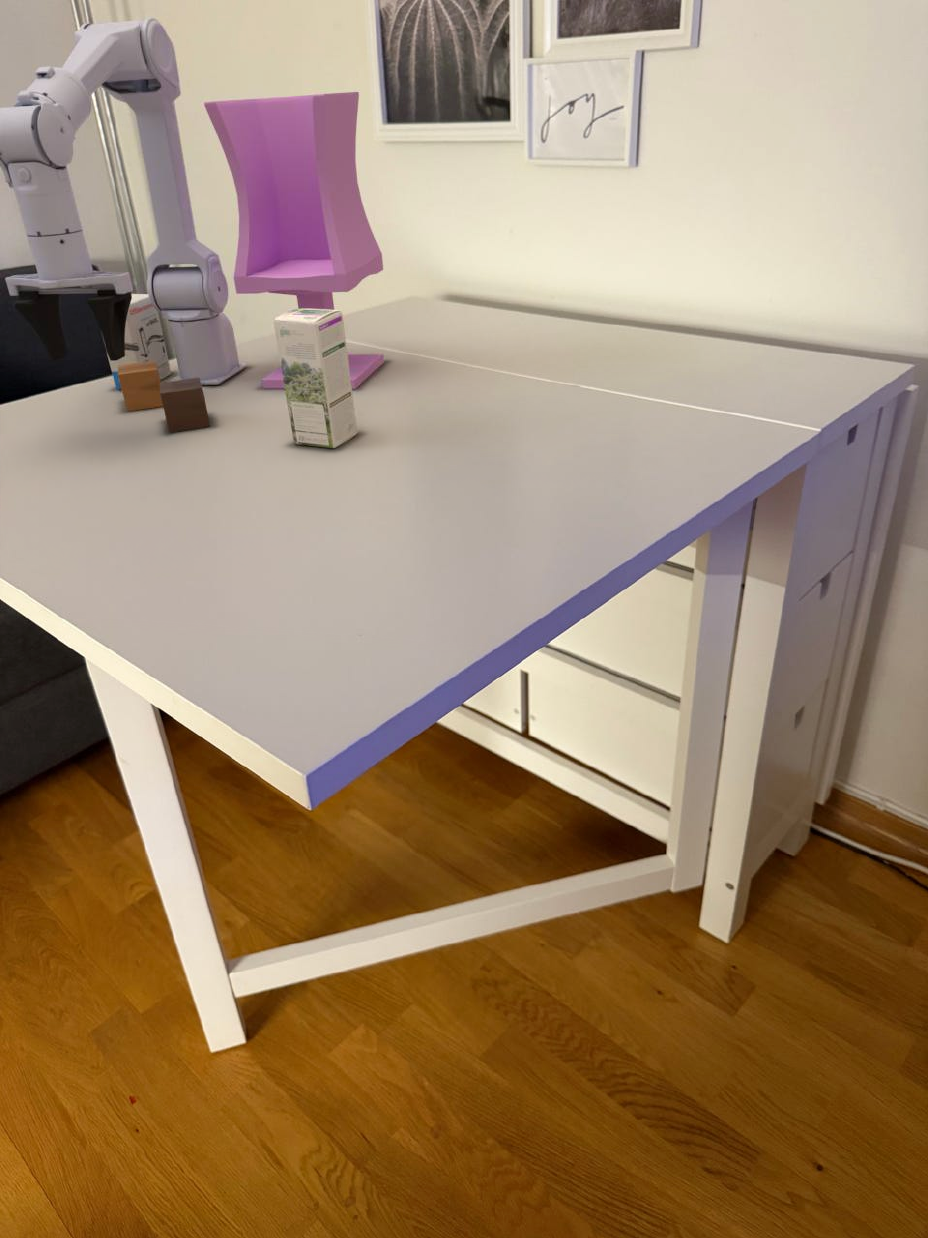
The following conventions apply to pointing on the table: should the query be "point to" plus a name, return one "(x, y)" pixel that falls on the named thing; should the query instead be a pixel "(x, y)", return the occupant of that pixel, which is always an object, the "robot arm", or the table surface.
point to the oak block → (140, 385)
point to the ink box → (142, 338)
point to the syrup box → (316, 376)
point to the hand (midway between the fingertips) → (88, 358)
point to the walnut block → (184, 404)
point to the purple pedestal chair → (298, 203)
